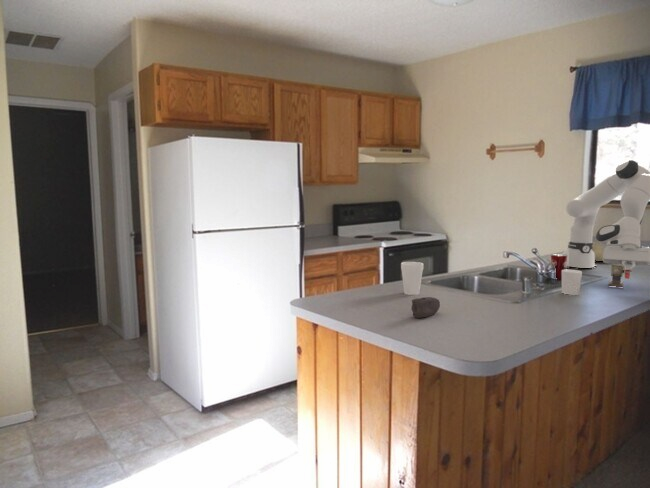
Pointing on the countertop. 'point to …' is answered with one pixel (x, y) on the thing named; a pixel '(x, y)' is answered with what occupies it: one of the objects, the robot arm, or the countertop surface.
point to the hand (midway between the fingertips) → (628, 270)
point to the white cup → (571, 281)
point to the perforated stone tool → (425, 306)
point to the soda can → (559, 264)
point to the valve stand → (616, 276)
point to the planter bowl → (598, 251)
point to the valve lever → (627, 275)
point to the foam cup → (411, 277)
